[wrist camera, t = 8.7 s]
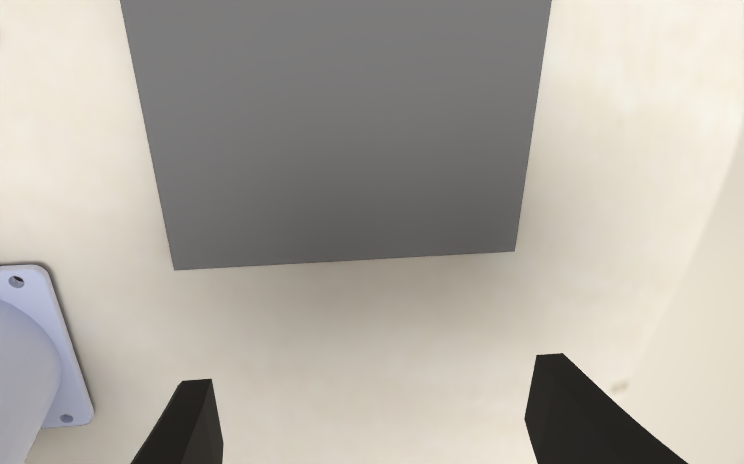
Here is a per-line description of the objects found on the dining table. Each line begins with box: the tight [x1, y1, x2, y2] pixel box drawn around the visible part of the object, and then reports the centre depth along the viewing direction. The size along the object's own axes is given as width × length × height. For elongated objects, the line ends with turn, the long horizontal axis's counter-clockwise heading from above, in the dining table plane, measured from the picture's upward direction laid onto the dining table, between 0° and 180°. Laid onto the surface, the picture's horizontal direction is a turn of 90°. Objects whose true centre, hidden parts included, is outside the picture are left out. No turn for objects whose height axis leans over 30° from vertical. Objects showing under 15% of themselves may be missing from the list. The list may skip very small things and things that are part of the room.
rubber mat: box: [120, 0, 552, 270], centre depth 20 cm, size 13×13×1 cm
